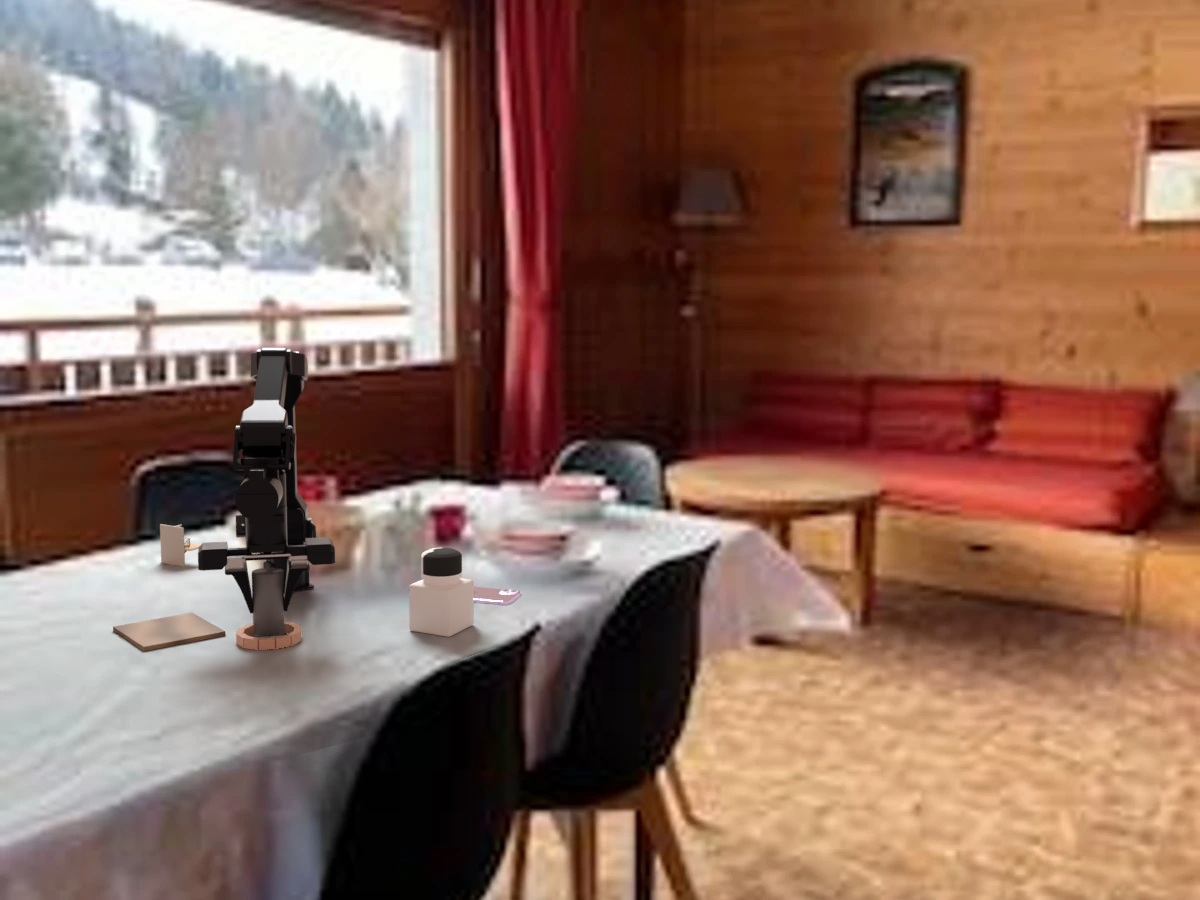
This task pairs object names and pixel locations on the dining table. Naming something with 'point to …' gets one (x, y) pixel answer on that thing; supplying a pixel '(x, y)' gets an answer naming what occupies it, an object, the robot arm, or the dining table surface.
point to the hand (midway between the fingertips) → (268, 611)
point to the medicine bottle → (441, 595)
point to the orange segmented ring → (271, 642)
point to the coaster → (168, 631)
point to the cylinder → (268, 602)
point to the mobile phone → (495, 595)
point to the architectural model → (174, 545)
